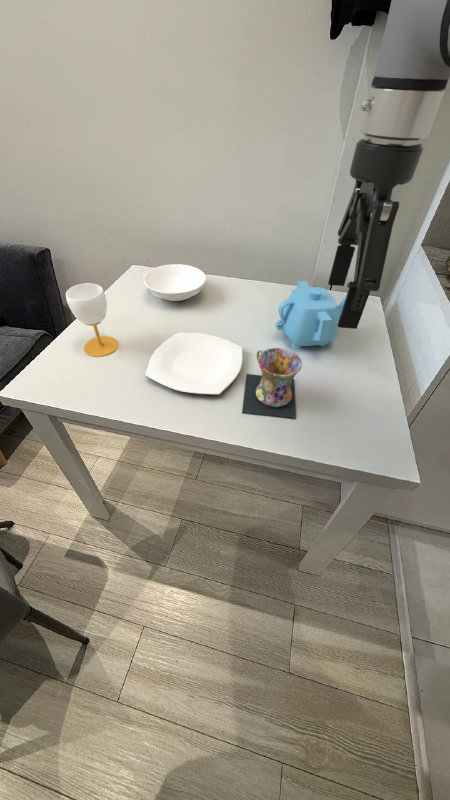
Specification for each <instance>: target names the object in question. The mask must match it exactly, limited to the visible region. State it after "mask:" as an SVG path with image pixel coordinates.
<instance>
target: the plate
mask: <svg viewBox="0 0 450 800" xmlns="http://www.w3.org/2000/svg"><path fill="white" fill-rule="evenodd" d="M243 352H244V351H243V346H241V345H239V344H236V343H234V342H232V341H230V340H228V339H225V338H222V337H219V336H216V335H212V334H207V333H198V332H176V333H175V334H173V335H172V336H170V337H169V338H168V339H166V340H165V341H163V342H162V343H161V344H160V345H159V346H157V348H156V349H155V350H154V351H153V352H152V354H151V356H150V358H149V361H148V364H147V368H146V372H145V376H146V377H147V378H149V379H150V380H152V381H154V382H156V383H158V384H159V385H162V386H164V387H166V388H169V389H171V390H174V391H177V392H181V393H188V394H195V395H196V394H197V395H211V396H212V395H213V396H214V395H215V396H216V395H221V394H222V393H223V392H224V391H225V390H226V389H227V388H228V387H229V386H230V385H231V384H232V383H233V382H234V380H235V379H236V378H237V377H238V376H239V373H240V372H241V369H242V366H243V359H244V355H243Z"/></svg>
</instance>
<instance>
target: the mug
mask: <svg viewBox="0 0 450 800" xmlns="http://www.w3.org/2000/svg"><path fill="white" fill-rule="evenodd" d="M256 360H257V361H256V362H257V365H258V366H259V369H260V373H261V375H262V378H261V382H260V384H259V385H258V386H257V388H256V396H257V398H258V399H259V400H260V401H261V402H262V403H263V404H265V405H268V406H271V407H281V406H284V405H286V404H288V403H289V402H290V400H291V399H292V391H291V382H292V380H293V379H295V377H296V375H297V374H299V372H300V371H301V370H302V368H303V362H302V359H301V358H300V356H299V355H298V354H297V353H296V352H294V351H292V350H290V349H287V348H283V347H272V348H268V349H264V350H262V349H259V350H257V351H256Z"/></svg>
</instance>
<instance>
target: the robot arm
mask: <svg viewBox="0 0 450 800" xmlns="http://www.w3.org/2000/svg"><path fill="white" fill-rule="evenodd" d="M385 23H386V25H385V28H384V32H383V36H382V41H381V45H380V49H379V52H378V57H377V60H376V65H375V69H374V74H373V78H372V80H371V84H370V86H371V88H370V90H369V94H368V96H369V97H368V99H364V100H363V101H362V102H361V103H360V105H361V106H360V110H361V111H362V112H364V114H363V118H362V123H361V127H360V133H361V134H362V135H363V138H360V139H359V140H358V142H356V144H355V149H354V153H353V157H352V161H351V163H350V164H351V165H350V169H349V175H350V177H351V178H353V179H354V180H355V182H354V183H355V184H354V187H353V191H352V194H351V196H350V199H349V202H348V204H347V207H346V210H345V212H344V214H343V217H342V220H341V223H340V225H339V228H338V230H337V237H338V240H337V242H338V243H337V244H338V245H337V247H336V251H335V255H334V259H333V263H332V266H331V270H330V273H329V278H328V282H327V285H328V286H338V287H344V286H345V283H346V281H347V277H348V274H349V271H350V269H351V264H352V261H353V257H354V254H355V251H356V246H357V252H356V257H355V258H356V260H355V267H354V275H353V281H349V282H348V283H347V285H346V286H347V288H348V290H347V293H346V295H347V296H346V295H345V296H346V299H345V302H344V305H343V309H342V312H341V315H340V318H339V321H338V328H342V329H354V330H357V329H358V326H359V324H360V321H361V318H362V315H363V313H364V311H365V307H366V305H367V302H368V299H369V296H370V294H371V292H378V291H379V290H380V287H381V282H382V277H383V273H384V268H385V265H386V264H385V263H386V259H387V254H388V249H389V246H390V245H389V244H390V240H391V237H392V236H391V235H392V232H393V231H392V230H393V226H394V223H395V220H396V216H397V214H398V211H399V208H400V201H395V200H392V194H393V190H394V188H395V187H396V186H399V185H405V184H408V183H409V182H411V181H412V180H413V178H414V175H415V172H416V170H417V167H418V164H419V162H420V160H421V156H422V153H423V151H424V148H423V144H421V143H422V140H425V139H427V138H428V137H429V136H430V134H431V131H432V128H433V125H434V123H435V120H436V117H437V114H438V112H439V110H440V106H441V104H442V101H443V98H444V96H445V93H446V88H447V84H448V82H449V80H450V0H391V2H390V6H389V11H388V15H387V20H386V22H385Z"/></svg>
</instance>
